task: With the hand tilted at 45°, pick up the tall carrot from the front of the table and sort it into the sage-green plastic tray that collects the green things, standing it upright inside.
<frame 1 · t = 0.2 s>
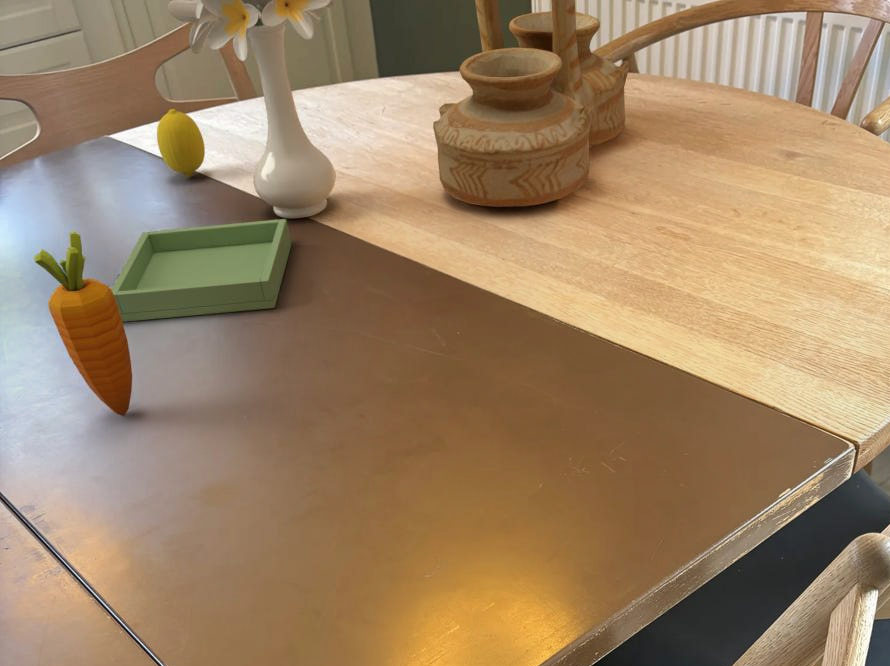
carrot: (124, 417, 86), on the table
ceramic vessel: (538, 164, 123), on the table
flower vase: (294, 211, 118), on the table
lemon: (190, 178, 129), on the table
green tray: (209, 281, 105), on the table
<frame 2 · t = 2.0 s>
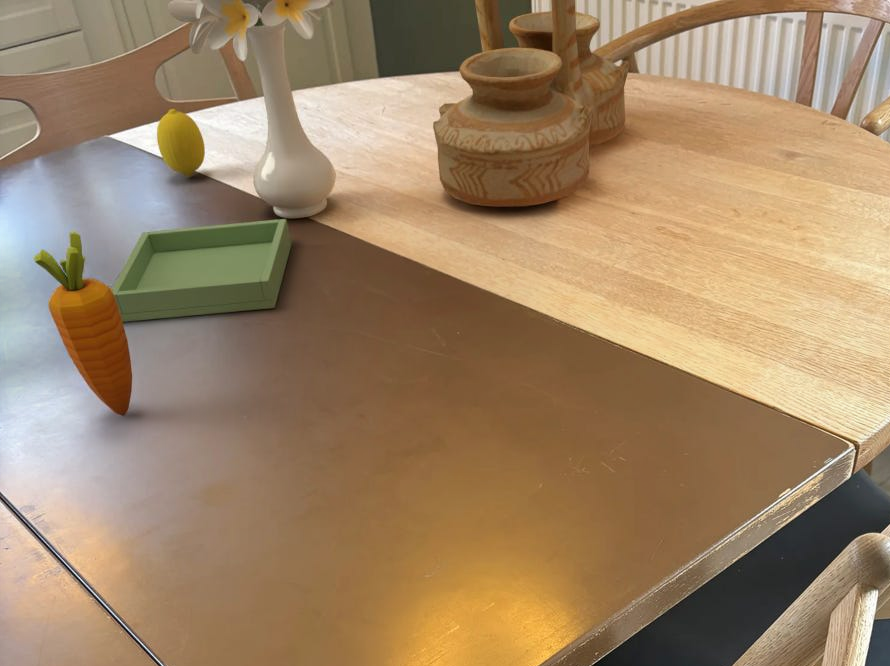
nothing on the table moved.
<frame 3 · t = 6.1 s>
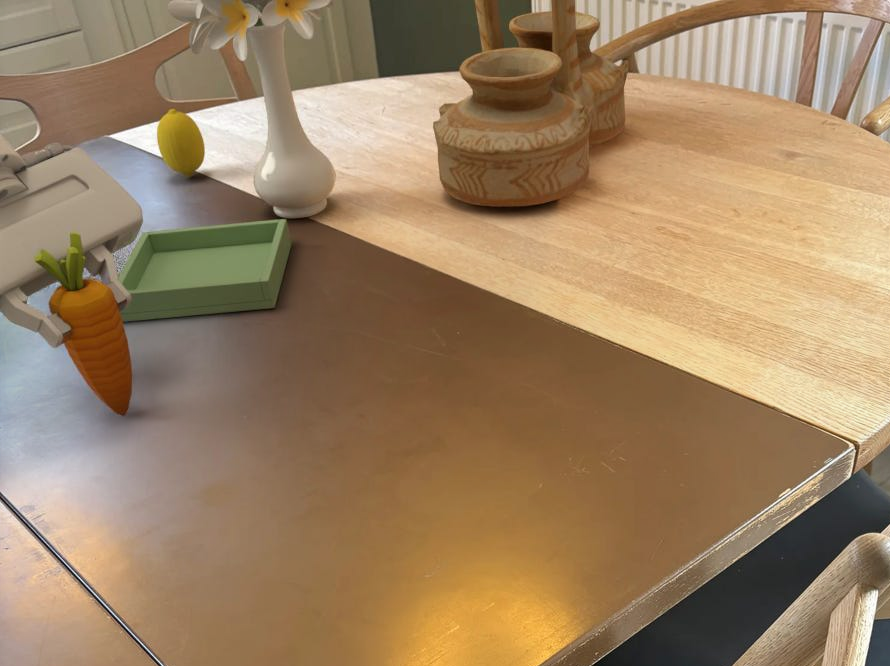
hand: (94, 323, 80), 8 cm above the table, tool tilted 45°, fingers closed on carrot, 5 cm apart
carrot: (124, 417, 86), on the table, touching gripper
everything else where it was.
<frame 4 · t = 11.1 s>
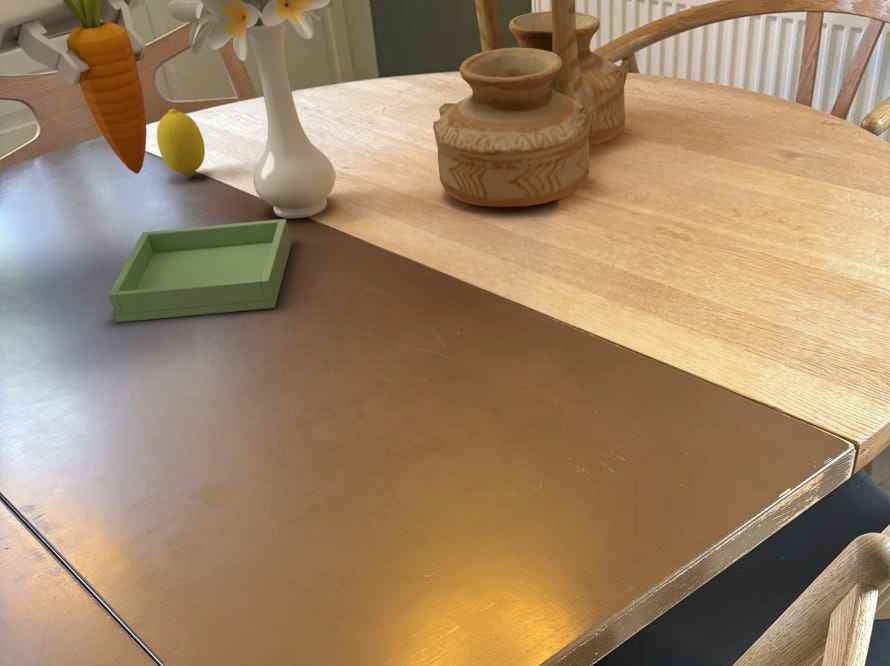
hand: (110, 67, 83), 22 cm above the table, tool tilted 45°, fingers closed on carrot, 5 cm apart
carrot: (138, 175, 89), point 14 cm above the table, touching gripper
everything else where it was.
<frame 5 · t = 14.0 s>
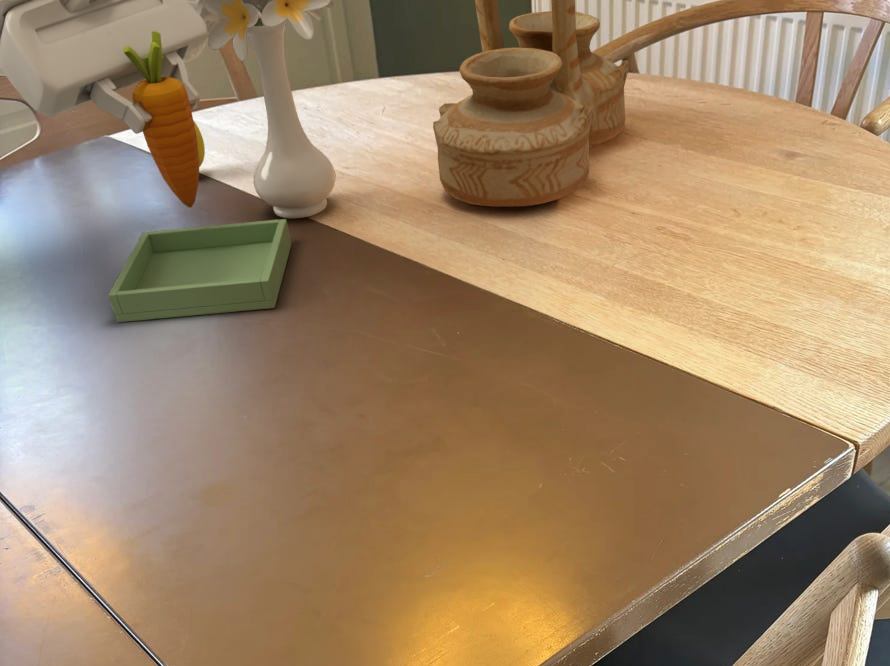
hand: (169, 116, 94), 16 cm above the table, tool tilted 45°, fingers closed on carrot, 5 cm apart
carrot: (190, 209, 100), point 7 cm above the table, touching gripper
everything else where it was.
when the fingers open (9 cm above the table, at t = 16.3 s): carrot stays where it is, resting on green tray.
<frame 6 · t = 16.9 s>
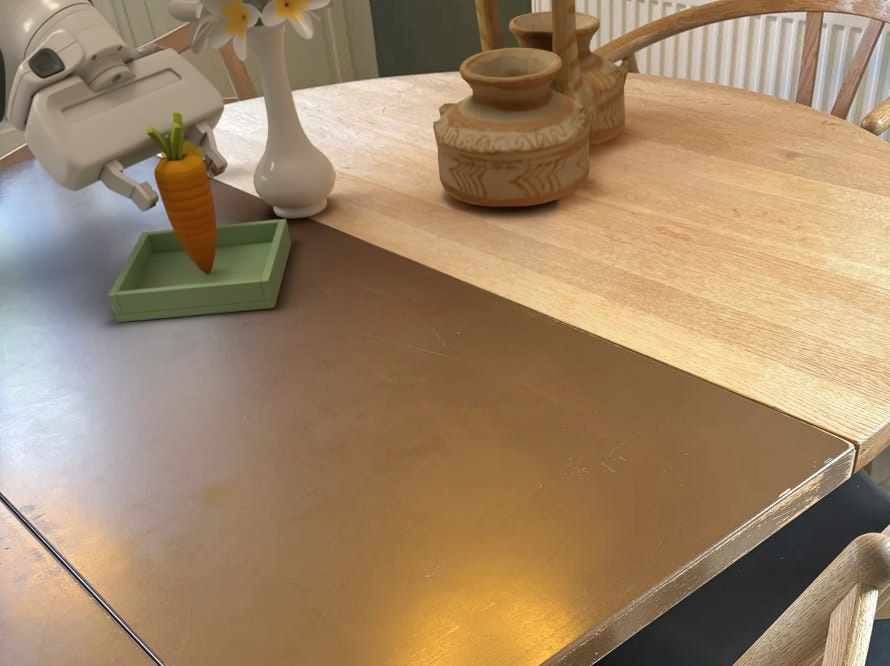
hand: (187, 188, 98), 9 cm above the table, tool tilted 45°, fingers open, 8 cm apart
carrot: (208, 275, 104), point 1 cm above the table, touching green tray
everything else where it was.
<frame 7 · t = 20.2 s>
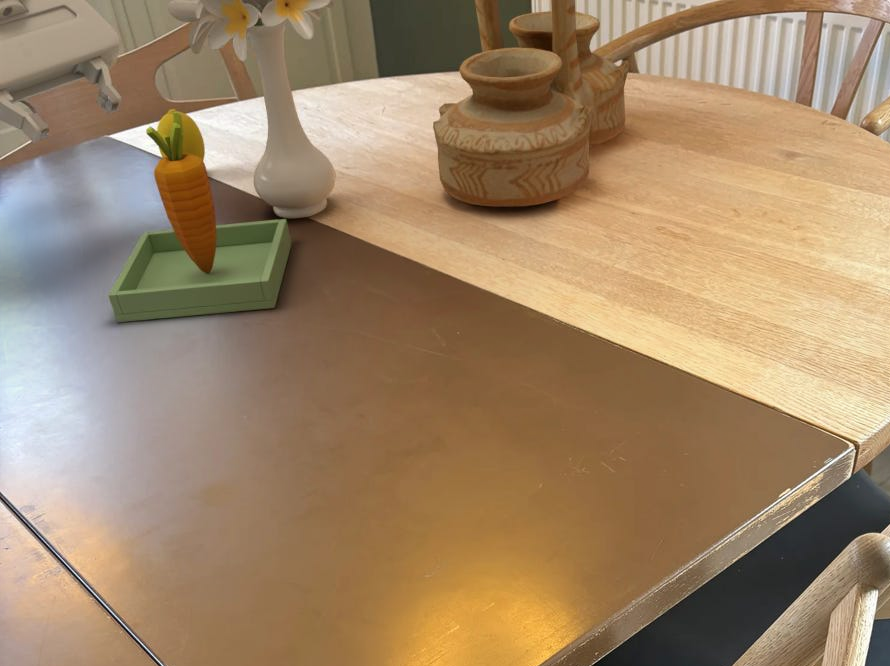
hand: (80, 121, 100), 14 cm above the table, tool tilted 45°, fingers open, 8 cm apart
nothing on the table moved.
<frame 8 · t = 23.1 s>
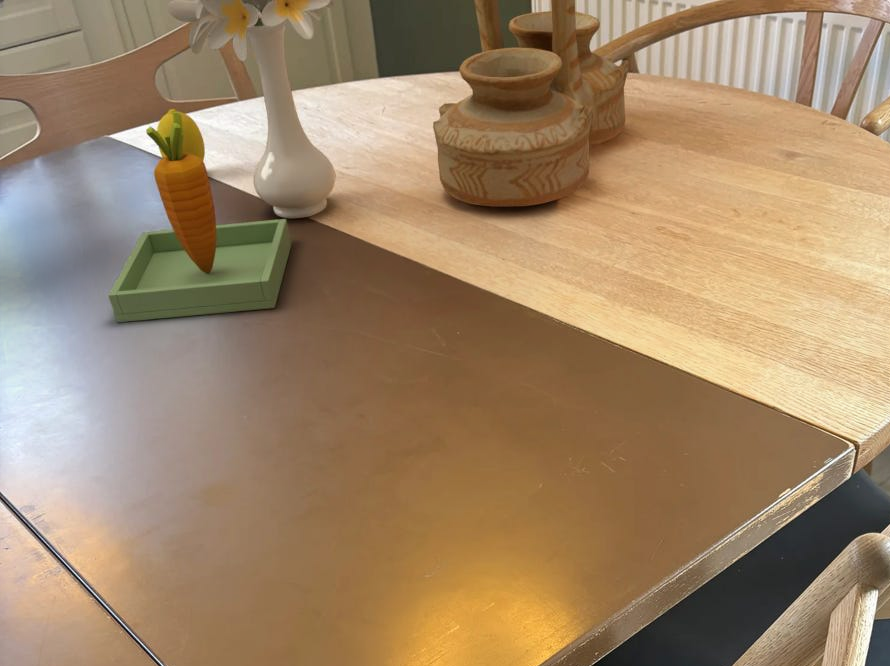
nothing on the table moved.
at the end: carrot inside the target area in the green tray (0.1 cm from its centre), point 0.6 cm above the green tray's base; carrot tilted 0°; the gripper is holding nothing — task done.
